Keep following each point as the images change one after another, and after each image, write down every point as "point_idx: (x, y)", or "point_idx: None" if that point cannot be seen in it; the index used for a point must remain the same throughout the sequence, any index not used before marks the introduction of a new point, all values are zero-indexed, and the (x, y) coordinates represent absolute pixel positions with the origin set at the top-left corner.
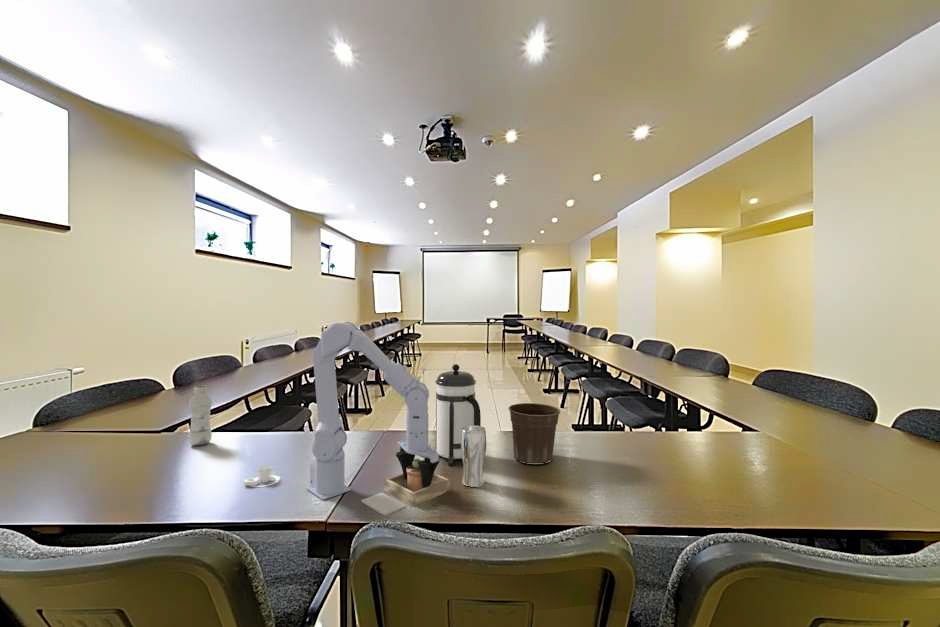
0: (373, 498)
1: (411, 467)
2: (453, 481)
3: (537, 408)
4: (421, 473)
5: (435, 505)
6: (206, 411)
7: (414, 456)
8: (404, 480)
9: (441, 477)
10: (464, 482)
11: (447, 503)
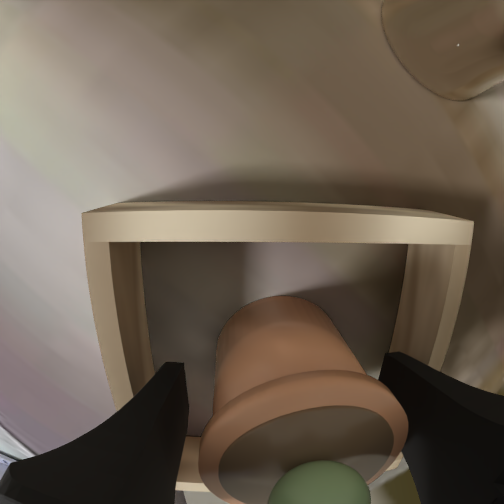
0: (207, 496)
1: (261, 492)
2: (349, 76)
3: None
4: (416, 476)
5: (446, 361)
6: None
7: (135, 475)
8: (145, 371)
9: (416, 234)
10: (448, 89)
11: (476, 312)
